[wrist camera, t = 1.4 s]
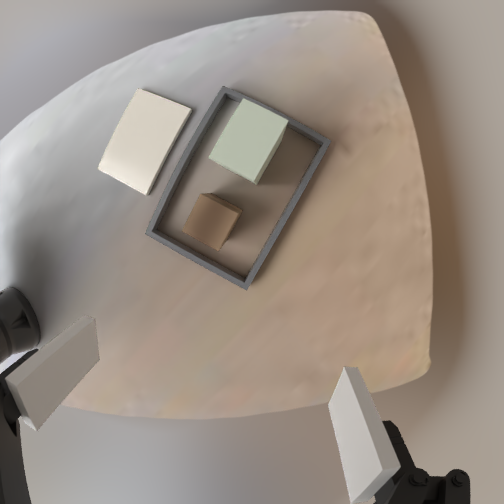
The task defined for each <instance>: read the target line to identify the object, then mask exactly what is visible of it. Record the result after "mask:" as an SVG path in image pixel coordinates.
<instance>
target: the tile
mask: <svg viewBox="0 0 504 504" xmlns="http://www.w3.org/2000/svg"><path fill="white" fill-rule="evenodd" d="M192 111H193V110H192V109H190V108H188V107H186V106H183V105H181V104H178V103H176V102H173V101H171V100H168V99H166V98H163V97H160V96H158V95H155V94H153V93H150V92H147V91H144V90H142V89H139V88H138V89H137V91H136V92H135V94H134V96H133V98H132V99H131V101H130V103H129V105H128V106H127V108H126V110H125V112H124V114H123V116H122V117H121V119H120V121H119V123H118V125H117V127H116V129H115V131H114V133H113V135H112V137H111V139H110V141H109V143H108V146H107V148H106V150H105V152H104V154H103V157H102V159H101V161H100V164H99V166H98V168H97V169H99V170H101V171H102V172H104V173H106V174H108V175H110V176H112V177H113V178H115V179H117V180H119V181H121V182H123V183H124V184H126V185H128V186H130V187H132V188H134V189H135V190H137V191H139V192H141V193H143V194H145V195H149V193H150V191H151V189H152V186H153V184H154V182H155V180H156V178H157V176H158V174H159V172H160V170H161V168H162V166H163V164H164V162H165V160H166V158H167V156H168V154H169V152H170V150H171V148H172V147H173V145H174V143H175V141H176V139H177V137H178V135H179V134H180V132H181V130H182V128H183V127H184V125H185V123H186V121H187V120H188V118H189V116H190V114H191V113H192Z"/></svg>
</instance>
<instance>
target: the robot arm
mask: <svg viewBox="0 0 504 504" xmlns="http://www.w3.org/2000/svg"><path fill="white" fill-rule="evenodd" d="M39 340H40V330H39V325H38V321H37V318H36V316H35V313H34V311H33V309H32V307H31V305H30V304H29V302H28V301H27V299H26V298H25V297H24V295H23V294H22V293H21V292H20V291H18V290H17V289H15V288H12V287H9V288H6V289H4V290H2V291H1V292H0V364H1V363H2V362H3V361H4V360H6V359H7V358H8V357H10V356H11V355H12V354H16V353H20V352H24V351H29V350H31V349H33V348H34V347H35V346H36V345H37V344H38V343H39ZM99 360H100V357H99V350H98V341H97V332H96V321H95V318H92V317H89V316H86V315H84V316H82V317H81V318H80V319H78V320H77V321H76V322H74V323H73V324H72V325H71V326H69V327H68V328H67V329H65V330H64V331H63V332H61V333H60V334H59V335H57V336H56V337H55V338H54V339H52V340H51V341H50V342H49V343H47V344H46V345H45V346H43V347H42V348H41V349H40V350H38V349H34V350H32V351H29V352H27V353H26V354H25V355H23V356H22V357H21V358H20V359H18V360H17V361H16V362H15V363H13V364H12V365H11V366H10V367H8V368H7V369H6V370H5V371H3V372H2V373H1V374H0V504H31V500H30V496H29V491H28V487H27V482H26V476H25V470H24V464H23V457H22V448H21V438H20V424H19V420H18V418H19V417H20V416H22V418H23V420H24V422H25V424H27V425H28V426H30V427H31V428H33V429H34V430H36V431H38V429H39V428H40V427H41V426H42V425H43V423H44V422H45V421H46V420H47V419H48V418H49V416H50V415H51V414H52V413H53V412H54V411H55V409H56V408H57V407H58V406H59V405H60V404H61V402H62V401H63V400H64V399H65V398H66V397H67V396H68V394H69V393H70V392H71V391H72V390H73V389H74V388H75V387H76V385H77V384H78V383H79V382H80V381H81V380H82V379H83V378H84V376H85V375H86V374H87V373H88V372H89V371H90V370H91V369H92V368H93V367H94V365H95V364H96V363H97V362H98V361H99ZM328 407H329V411H330V414H331V419H332V423H333V427H334V431H335V435H336V439H337V444H338V448H339V452H340V457H341V461H342V466H343V469H344V474H345V479H346V484H347V488H348V493H349V498H350V503H351V504H352V503H360V502H367V501H368V500H369V499H371V498H372V497H373V496H375V500H376V502H375V503H373V504H470V479H469V476H468V474H467V473H466V472H464V471H462V470H459V469H454V470H452V471H450V472H449V473H448V474H447V475H446V476H445V477H440V476H429V474H428V473H427V472H426V471H424V470H423V469H420V468H416V467H415V465H414V462H413V460H412V458H411V456H410V454H409V451H408V449H407V447H406V445H405V444H404V440H403V438H402V437H401V434H400V432H399V430H398V427H396V426H395V425H394V424H393V423H392V422H391V421H382V420H381V418H380V416H379V413H378V411H377V409H376V406H375V405H374V402H373V400H372V398H371V395H370V393H369V391H368V389H367V387H366V384H365V382H364V380H363V378H362V376H361V374H360V371H359V369H358V367H344V368H343V371H342V373H341V376H340V378H339V381H338V383H337V386H336V388H335V390H334V393H333V395H332V397H331V400H330V402H329V404H328Z"/></svg>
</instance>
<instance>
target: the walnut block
mask: <svg viewBox="0 0 504 504" xmlns="http://www.w3.org/2000/svg"><path fill="white" fill-rule="evenodd" d="M242 211H243V210H242V209H240V208H238V207H236V206H234V205H232V204H231V203H229V202H227V201H225V200H223V199H221V198H219V197H217V196H216V195H214V194H212V193H207V194H200V196H199V198H198V200H197V202H196V204H195V206H194V207H193V209H192V211H191V213H190V215H189V218H188V220H187V222H186V224H185V226H184V228H183V230H182V232H184V233H186V234H188V235H189V236H191V237H193V238H195V239H197V240H199V241H200V242H202V243H204V244H206V245H208V246H209V247H211V248H213V249H215V250H217V251H219V250H220V249H221V247H222V246H223V245H224V243H225V242H226V240H227V239H228V237H229V235H230V233H231V231H232V229H233V227H234V226H235V224H236V222H237V220H238V218H239V216H240V215H241V213H242Z"/></svg>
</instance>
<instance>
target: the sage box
mask: <svg viewBox="0 0 504 504" xmlns="http://www.w3.org/2000/svg"><path fill="white" fill-rule="evenodd" d="M288 121H289V120H287V119H285V118H283V117H281V116H279V115H277V114H275V113H273V112H271V111H269V110H267V109H265V108H263V107H261V106H259V105H257V104H255V103H253V102H250V101H248V100H246V99H244V98H243V99H242V101H241V103H240V104H239V106H238V107H237V109H236V111H235V112H234V114H233V116H232V117H231V119H230V121H229V122H228V124H227V126H226V128H225V129H224V131H223V133H222V134H221V136H220V138H219V140H218V141H217V143H216V145H215V147H214V149H213V150H212V152H211V154H210V156H209V159H211V160H213V161H214V162H216V163H217V164H219V165H221V166H222V167H224V168H226V169H228V170H229V171H231V172H233V173H235V174H237V175H239V176H241V177H243V178H245V179H247V180H248V181H250V182H252V183H254V184H256V185H257V184H258V182H259V180H260V178H261V176H262V175H263V173H264V171H265V169H266V168H267V166H268V164H269V162H270V161H271V159H272V157H273V155H274V153H275V152H276V150H277V148H278V146H279V145H280V143H281V141H282V138H283V135H284V132H285V129H286V126H287V123H288Z"/></svg>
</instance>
